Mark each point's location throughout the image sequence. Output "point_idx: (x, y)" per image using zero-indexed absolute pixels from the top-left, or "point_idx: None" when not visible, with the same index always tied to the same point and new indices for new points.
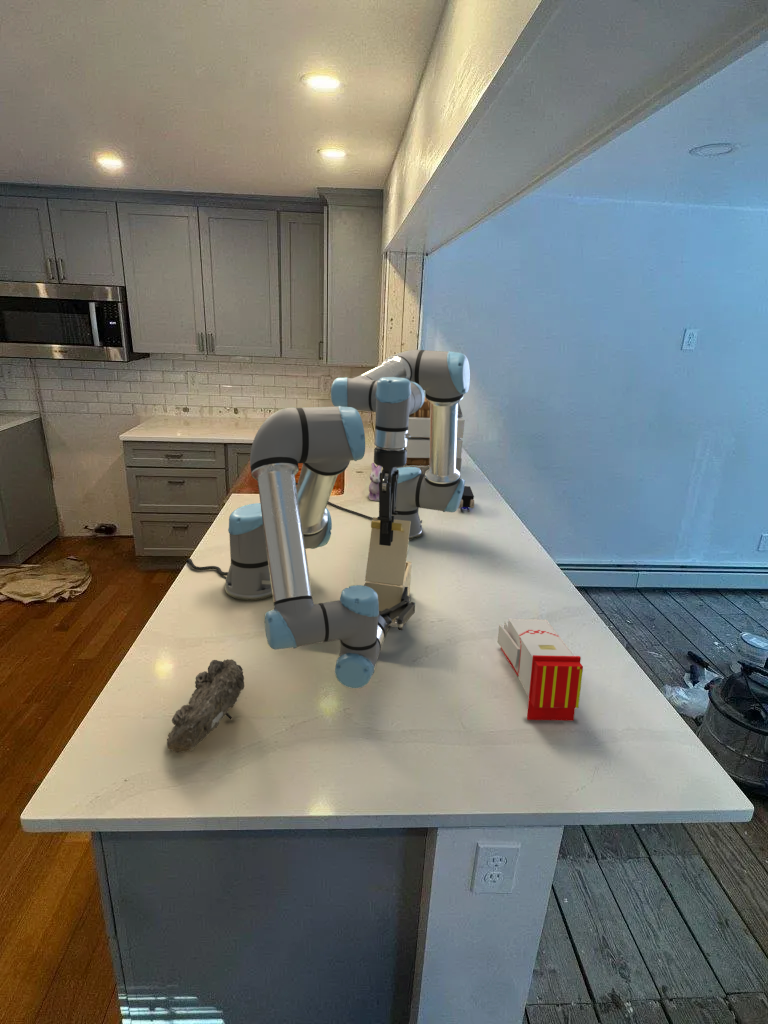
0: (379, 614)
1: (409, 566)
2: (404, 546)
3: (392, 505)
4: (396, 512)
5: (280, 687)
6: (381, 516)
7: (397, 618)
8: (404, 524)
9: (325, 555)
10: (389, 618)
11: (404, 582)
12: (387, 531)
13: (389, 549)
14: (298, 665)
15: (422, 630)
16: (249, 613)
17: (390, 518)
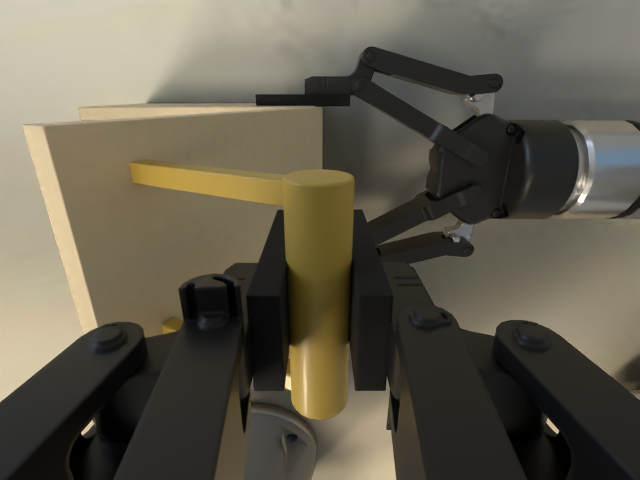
0: (487, 157)
1: (125, 109)
2: (217, 133)
3: (232, 409)
4: (203, 294)
5: (603, 297)
6: (543, 429)
7: (481, 95)
8: (91, 172)
9: (31, 368)
10: (483, 122)
11: (272, 107)
12: (415, 273)
13: (242, 210)
14: (532, 288)
15: (343, 29)
16: (360, 419)
17: (453, 323)
